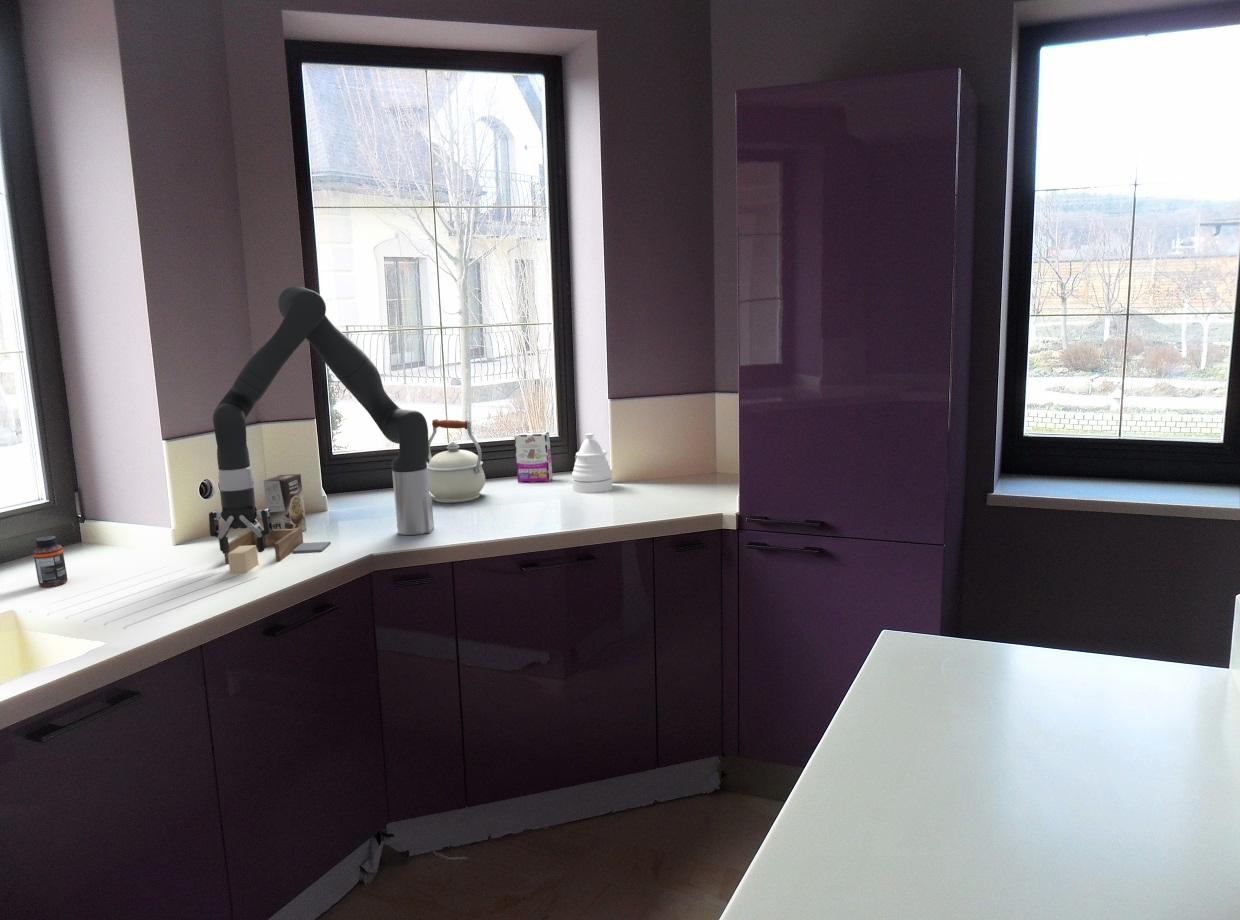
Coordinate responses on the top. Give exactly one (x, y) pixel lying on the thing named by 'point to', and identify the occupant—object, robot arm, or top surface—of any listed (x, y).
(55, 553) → the supplement bottle
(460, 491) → the kettle
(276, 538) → the shelf bay
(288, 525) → the coffee box
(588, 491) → the honey pot
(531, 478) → the candy bar box
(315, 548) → the slate pad
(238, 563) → the block
